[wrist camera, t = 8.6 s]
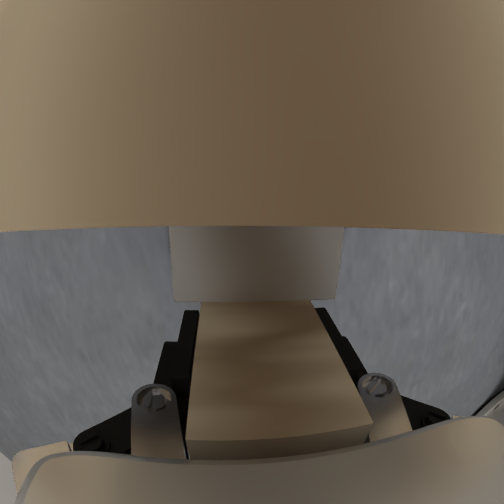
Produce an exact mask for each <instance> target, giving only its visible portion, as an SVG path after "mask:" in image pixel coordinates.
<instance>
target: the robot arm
mask: <svg viewBox="0 0 504 504" xmlns="http://www.w3.org/2000/svg"><path fill="white" fill-rule="evenodd" d="M315 310H316V312H317V314H318V316H319V318H320V320H321V321H322V323H323V325H324V327H325V329H326V331H327V333H328V335H329V337H330V338H331V340H332V342H333V344H334V346H335V348H336V350H337V352H338V354H339V356H340V358H341V359H342V361H343V363H344V365H345V367H346V369H347V371H348V373H349V375H350V377H351V379H352V381H353V383H354V385H355V387H356V389H357V391H358V393H359V395H360V397H361V399H362V401H363V403H364V404H365V406H366V408H367V410H368V412H369V414H370V417H371V419H372V421H373V426H372V428H371V430H370V432H369V434H368V436H367V438H366V440H365V442H364V444H360V445H356V446H351V447H346V448H341V449H336V450H330V451H324V452H318V453H311V454H304V455H296V456H287V457H277V458H265V459H248V460H190V458H189V452H188V448H187V444H186V440H185V439H186V428H187V417H188V407H189V398H190V389H191V380H192V371H193V363H194V354H195V346H196V339H197V331H198V324H199V316H200V314H199V311H198V310H185V311H184V315H183V320H182V324H181V329H180V333H179V338H178V342H167V341H166V342H165V343H164V346H163V349H162V353H161V357H160V361H159V364H158V368H157V372H156V376H155V380H154V384H148V385H145V386H142V387H140V388H139V389H138V390H136V391H135V393H134V394H133V397H132V406H131V408H129V409H127V410H125V411H123V412H122V413H120V414H118V415H116V416H114V417H112V418H110V419H108V420H106V421H104V422H102V423H100V424H98V425H96V426H93V427H91V428H89V429H87V430H85V431H83V432H82V433H80V434H79V435H78V436H77V437H76V438H75V440H74V442H72V443H69V444H68V442H67V441H63V442H59V443H55V444H51V445H46V446H42V447H37V448H32V449H27V450H23V451H20V452H18V453H17V454H16V455H15V456H14V458H13V460H12V470H13V475H14V481H15V485H16V490H17V497H16V500H15V502H14V504H504V391H502V392H501V393H500V394H498V395H497V396H496V397H495V398H493V399H492V400H491V401H490V402H489V403H488V404H487V405H486V406H485V407H484V408H482V409H481V410H480V411H479V412H478V413H477V414H476V415H475V416H466V417H461V416H454V415H453V416H452V418H450V417H449V415H448V414H447V413H446V412H444V411H443V410H441V409H439V408H436V407H433V406H430V405H427V404H424V403H421V402H418V401H415V400H412V399H410V398H407V397H404V396H401V395H400V393H399V391H398V388H397V385H396V383H395V382H394V380H392V379H391V378H390V377H388V376H386V375H384V374H381V373H367V371H366V369H365V368H364V366H363V364H362V363H361V361H360V359H359V358H358V356H357V354H356V352H355V351H354V349H353V347H352V346H351V344H350V342H349V341H348V339H347V338H346V337H344V336H341V334H340V332H339V331H338V329H337V327H336V326H335V324H334V322H333V320H332V319H331V317H330V315H329V314H328V312H327V310H326V309H325V308H315Z"/></svg>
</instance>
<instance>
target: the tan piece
mask: <svg viewBox="0 0 504 504" xmlns="http://www.w3.org/2000/svg"><path fill="white" fill-rule="evenodd" d="M343 236H344V227H317V226H169V237H170V254H171V268H172V281H173V292H174V302H201V309H200V316H199V324H198V331H197V339H196V346H195V354H194V363H193V371H192V380H191V389H190V398H189V407H188V417H187V428H186V439H185V440H186V444H187V448H188V452H189V456H190V460H248V459H265V458H277V457H287V456H296V455H304V454H311V453H318V452H324V451H330V450H336V449H341V448H346V447H351V446H356V445H360V444H364V442H365V440H366V438H367V436H368V434H369V432H370V430H371V428H372V426H373V421H372V419H371V417H370V414H369V412H368V410H367V408H366V406H365V404H364V403H363V401H362V399H361V397H360V395H359V393H358V391H357V389H356V387H355V385H354V383H353V381H352V379H351V377H350V375H349V373H348V371H347V369H346V367H345V365H344V363H343V361H342V359H341V358H340V356H339V354H338V352H337V350H336V348H335V346H334V344H333V342H332V340H331V338H330V337H329V335H328V333H327V331H326V329H325V327H324V325H323V323H322V321H321V320H320V318H319V316H318V314H317V312H316V310H315V308H314V307H313V305H312V303H311V301H310V300H327V299H335V296H336V289H337V282H338V275H339V268H340V261H341V253H342V244H343Z"/></svg>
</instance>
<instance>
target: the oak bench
mask: <svg viewBox="0 0 504 504" xmlns="http://www.w3.org/2000/svg"><path fill="white" fill-rule="evenodd" d="M144 226H317V227H359V228H390V229H416V230H438V231H457V232H475V233H491V234H504V0H0V232H8V231H27V230H48V229H72V228H102V227H144Z"/></svg>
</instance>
